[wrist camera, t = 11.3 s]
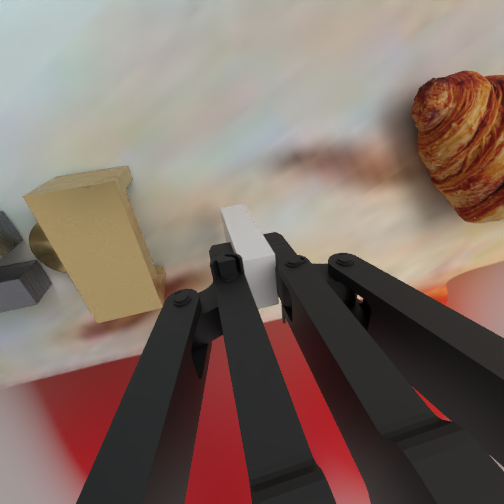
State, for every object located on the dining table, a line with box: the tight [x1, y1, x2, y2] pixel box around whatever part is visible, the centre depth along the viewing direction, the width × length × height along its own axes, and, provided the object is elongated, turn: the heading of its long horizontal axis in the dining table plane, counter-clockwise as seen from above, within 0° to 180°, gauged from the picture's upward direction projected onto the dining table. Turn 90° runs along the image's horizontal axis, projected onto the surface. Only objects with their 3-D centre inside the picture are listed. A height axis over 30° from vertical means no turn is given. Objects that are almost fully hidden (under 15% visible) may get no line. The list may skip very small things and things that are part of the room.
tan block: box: [23, 166, 166, 323], centre depth 16 cm, size 4×8×4 cm, turn 7°
